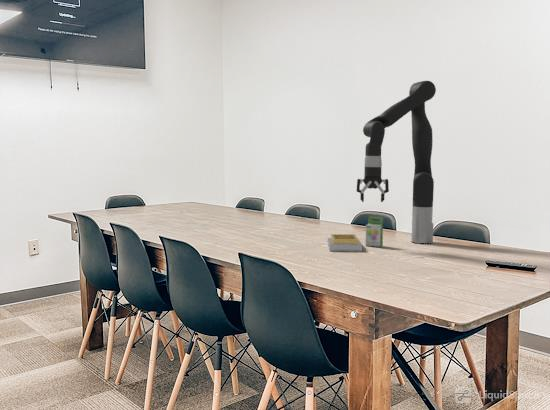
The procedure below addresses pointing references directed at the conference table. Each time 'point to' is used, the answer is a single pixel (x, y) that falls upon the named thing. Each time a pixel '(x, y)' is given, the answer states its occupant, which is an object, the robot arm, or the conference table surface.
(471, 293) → the conference table surface
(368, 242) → the ink box
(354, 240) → the white yellow box
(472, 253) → the conference table surface
